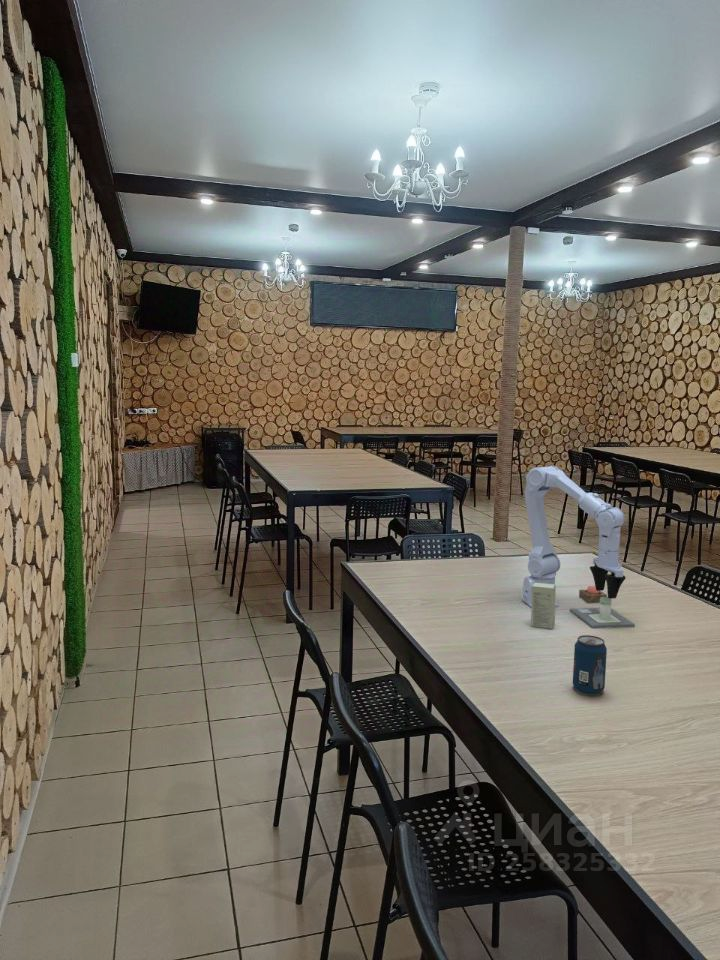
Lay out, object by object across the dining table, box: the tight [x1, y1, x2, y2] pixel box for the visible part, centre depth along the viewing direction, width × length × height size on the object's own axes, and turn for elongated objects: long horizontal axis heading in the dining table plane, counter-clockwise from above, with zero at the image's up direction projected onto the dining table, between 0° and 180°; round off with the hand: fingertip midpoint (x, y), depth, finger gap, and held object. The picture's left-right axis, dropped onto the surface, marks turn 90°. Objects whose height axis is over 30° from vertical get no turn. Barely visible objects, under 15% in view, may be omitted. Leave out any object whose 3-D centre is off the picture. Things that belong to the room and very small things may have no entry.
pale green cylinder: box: [599, 596, 613, 620], centre depth 200 cm, size 3×3×6 cm
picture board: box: [569, 607, 636, 629], centre depth 202 cm, size 13×15×1 cm
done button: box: [586, 585, 599, 594], centre depth 220 cm, size 4×4×3 cm
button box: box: [578, 589, 608, 604], centre depth 220 cm, size 6×6×2 cm
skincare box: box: [530, 583, 557, 629], centre depth 195 cm, size 6×4×12 cm
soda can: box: [572, 634, 608, 697], centre depth 153 cm, size 7×7×12 cm
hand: (605, 594), depth 199 cm, fingers open, 7 cm apart
